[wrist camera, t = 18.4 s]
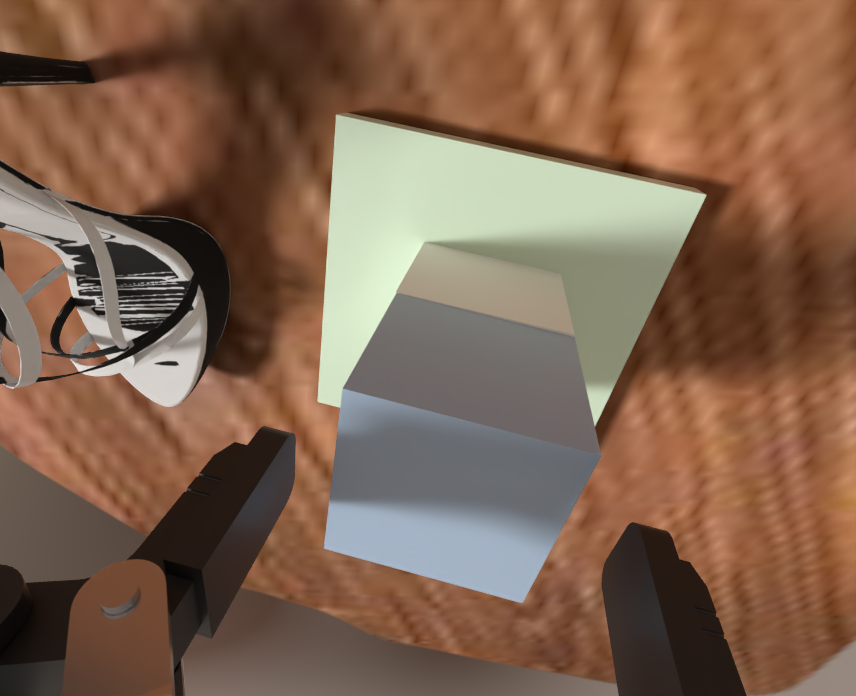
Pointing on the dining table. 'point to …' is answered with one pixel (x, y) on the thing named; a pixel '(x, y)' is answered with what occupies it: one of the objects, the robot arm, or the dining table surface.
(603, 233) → the base plate
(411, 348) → the brick top
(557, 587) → the dining table surface
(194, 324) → the sandal
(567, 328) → the white cube
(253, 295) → the dining table surface
